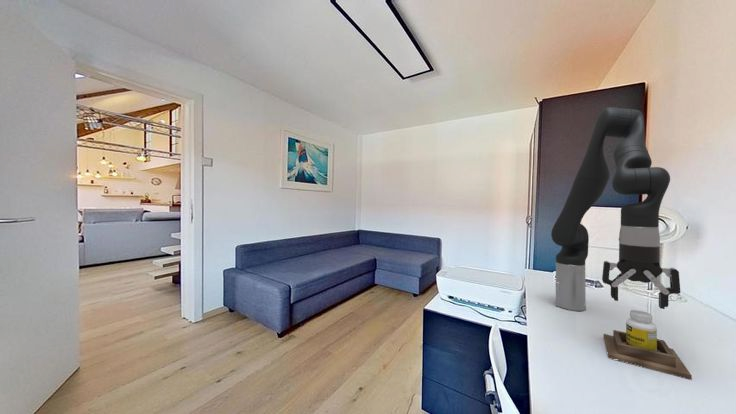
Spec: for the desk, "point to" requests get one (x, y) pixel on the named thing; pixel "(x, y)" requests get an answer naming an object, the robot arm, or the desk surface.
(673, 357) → the cup holder
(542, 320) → the desk surface
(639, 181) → the robot arm
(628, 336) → the supplement bottle
